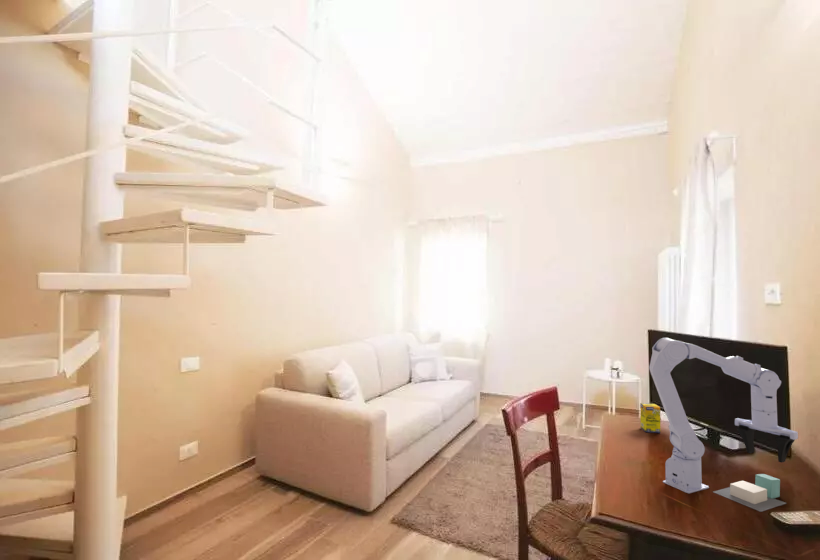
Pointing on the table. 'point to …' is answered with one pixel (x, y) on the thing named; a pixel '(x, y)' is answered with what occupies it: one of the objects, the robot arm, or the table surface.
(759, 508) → the grey flat square plate
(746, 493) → the cream slab
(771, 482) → the teal block
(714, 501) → the table surface
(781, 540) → the table surface
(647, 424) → the supplement box
